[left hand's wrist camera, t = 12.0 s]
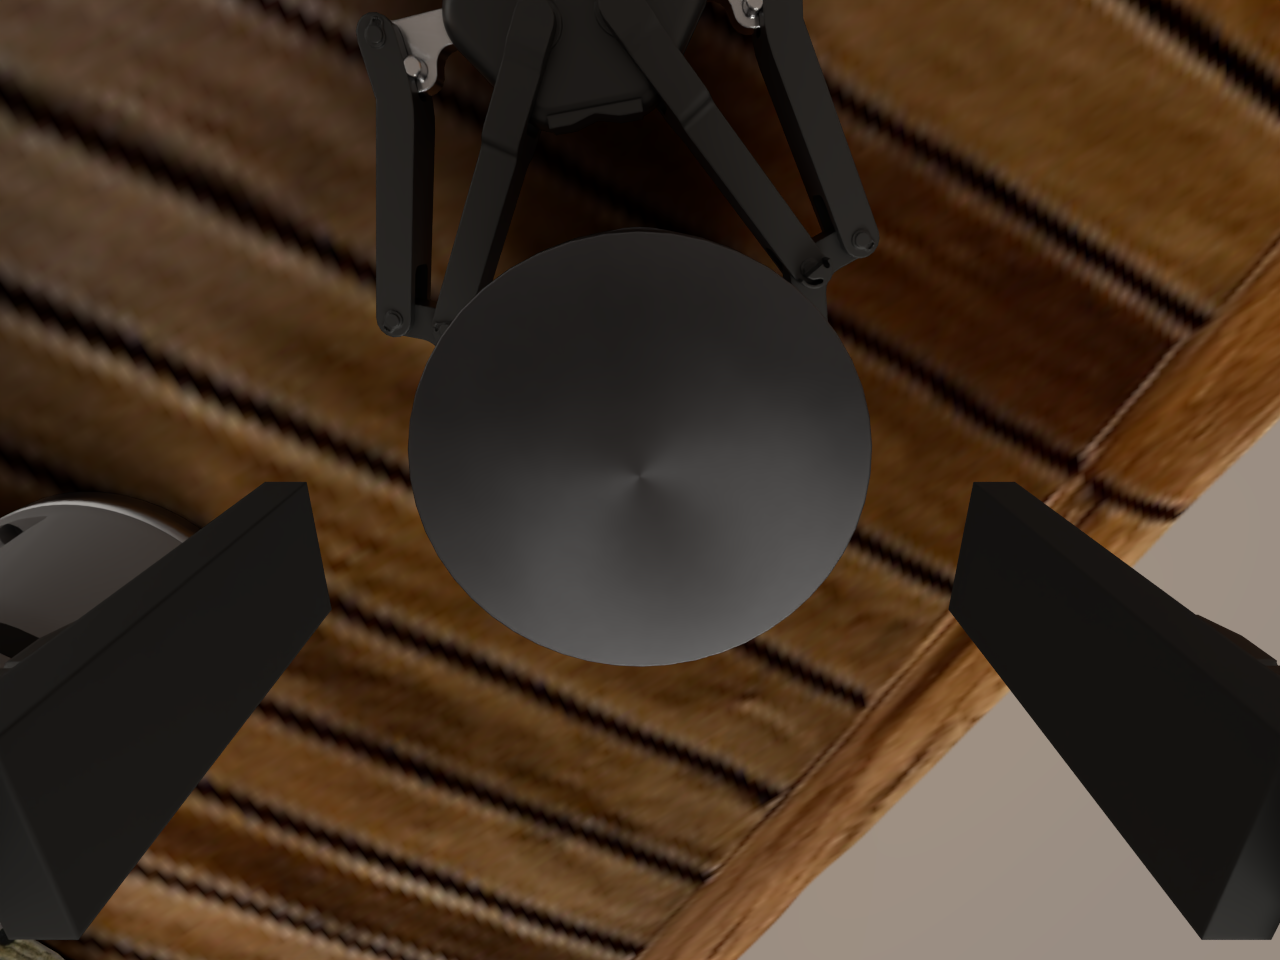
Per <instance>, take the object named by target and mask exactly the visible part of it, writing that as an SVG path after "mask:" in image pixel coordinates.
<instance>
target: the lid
mask: <svg viewBox="0 0 1280 960" xmlns="http://www.w3.org/2000/svg"><path fill="white" fill-rule="evenodd" d="M871 453H872V441H871V429H870V417H869V413H868V408H867V404H866V400H865V395H864V391H863V387H862V385H861V382H860V380H859V377H858V374H857V372H856V369H855V367H854V364H853V362H852V359H851V358H850V356H849V354H848V352H847V351H846V349H845V347H844V345H843V343H842V342H841V340H840V338H839V336H838V335H837V333H836V332H835V330H834V329H833V328H832V327H831V325H830V324H829V323H828V321H827V320H826V319H825V318H824V316H823V315H822V314H821V312H820V311H819V310H818V309H817V307H815V306H814V305H813V304H812V303H811V302H810V301H809V300H808V299H807V298H806V297H805V296H804V295H803V294H802V293H801V292H800V291H799V290H798V289H797V288H796V287H795V286H794V285H792V284H791V283H789V282H788V281H787V280H785V279H784V278H782V277H781V276H780V275H778V274H777V273H775V272H774V271H773V270H771V269H770V268H768V267H767V266H765V265H763V264H761V263H759V262H757V261H756V260H754V259H752V258H750V257H748V256H746V255H744V254H742V253H740V252H738V251H736V250H734V249H732V248H730V247H727V246H724V245H721V244H718V243H716V242H713V241H710V240H707V239H704V238H702V237H698V236H693V235H688V234H683V233H678V232H673V231H667V230H651V229H628V230H615V231H605V232H601V233H596V234H592V235H587V236H583V237H578V238H575V239H572V240H570V241H567V242H564V243H562V244H559V245H556V246H554V247H551V248H548V249H546V250H544V251H542V252H539V253H537V254H535V255H534V256H532V257H530V258H528V259H526V260H524V261H523V262H521V263H519V264H517V265H515V266H513V267H512V268H510V269H508V270H507V271H506V272H504V273H503V274H502V275H500V276H499V277H498V278H496V279H495V280H494V281H492V282H491V283H489V284H488V285H487V286H485V287H484V288H483V289H482V290H481V291H480V292H479V293H478V294H477V295H476V296H475V297H474V298H473V299H472V300H471V301H470V302H469V303H468V304H467V305H466V306H465V307H464V308H463V309H462V310H461V311H460V312H459V313H458V315H457V316H456V317H455V319H454V320H453V321H452V323H451V324H450V325H449V327H448V328H447V329H446V331H445V332H444V333H443V335H442V336H441V338H440V339H439V341H438V343H437V345H436V347H435V349H434V350H433V352H432V354H431V356H430V358H429V360H428V361H427V363H426V366H425V369H424V371H423V374H422V377H421V380H420V382H419V385H418V388H417V390H416V394H415V399H414V404H413V408H412V413H411V418H410V427H409V441H408V456H409V470H410V480H411V484H412V489H413V494H414V498H415V503H416V507H417V509H418V512H419V515H420V518H421V521H422V523H423V526H424V529H425V532H426V534H427V536H428V537H429V539H430V541H431V543H432V545H433V547H434V549H435V551H436V553H437V555H438V557H439V558H440V559H441V561H442V562H443V564H444V565H445V567H446V568H447V570H448V571H449V572H450V574H451V575H452V577H453V578H454V579H455V581H456V582H457V583H458V584H459V585H460V586H461V587H462V588H463V589H464V591H465V592H466V593H467V594H468V595H469V596H470V597H471V598H472V599H473V600H474V601H475V602H476V603H477V604H478V605H480V606H481V607H482V608H483V609H484V610H485V611H486V612H487V613H489V614H490V615H491V616H492V617H494V618H495V619H496V620H498V621H499V622H501V623H502V624H504V625H505V626H507V627H508V628H510V629H511V630H512V631H514V632H516V633H518V634H519V635H521V636H523V637H525V638H527V639H529V640H531V641H533V642H535V643H536V644H539V645H541V646H544V647H546V648H549V649H551V650H554V651H556V652H559V653H561V654H564V655H568V656H572V657H575V658H579V659H583V660H587V661H591V662H598V663H604V664H611V665H622V666H657V665H670V664H676V663H682V662H688V661H694V660H698V659H701V658H705V657H708V656H711V655H715V654H718V653H721V652H724V651H726V650H729V649H731V648H734V647H736V646H739V645H741V644H743V643H746V642H748V641H749V640H751V639H753V638H755V637H757V636H758V635H760V634H762V633H764V632H766V631H768V630H769V629H771V628H772V627H773V626H775V625H776V624H778V623H779V622H780V621H782V620H783V619H785V618H786V617H788V616H789V615H790V614H792V613H793V612H794V611H795V610H796V609H797V608H798V607H799V606H800V605H801V604H803V603H804V602H805V601H806V600H807V599H808V598H809V597H810V596H811V595H812V594H813V593H814V592H815V591H816V589H817V588H818V587H819V586H820V585H821V584H822V583H823V581H824V580H825V579H826V578H827V577H828V576H829V574H830V573H831V571H832V570H833V568H834V567H835V565H836V564H837V562H838V561H839V559H840V558H841V556H842V555H843V553H844V551H845V549H846V547H847V545H848V543H849V541H850V539H851V537H852V535H853V533H854V531H855V529H856V526H857V523H858V521H859V518H860V515H861V512H862V509H863V506H864V503H865V499H866V494H867V489H868V484H869V478H870V471H871Z"/></svg>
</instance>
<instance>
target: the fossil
mask: <svg viewBox="0 0 1280 960" xmlns="http://www.w3.org/2000/svg"><path fill="white" fill-rule="evenodd" d="M0 960H64V959H63V958H62V957H61V956H60V955H59V954H58V953H56V952H54V951H53V950H51V949H49V948H48V947H46V946H44V945H43V944H41V943H39V942H38V941H36V940H9V939H8V937H7V935H6V933H5V931H4V929H3V928H2V929H1V930H0Z"/></svg>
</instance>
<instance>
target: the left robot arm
mask: <svg viewBox="0 0 1280 960" xmlns="http://www.w3.org/2000/svg"><path fill="white" fill-rule="evenodd" d="M330 611H331V605H330V600H329V594H328V589H327V584H326V579H325V574H324V569H323V564H322V559H321V554H320V549H319V544H318V538H317V533H316V528H315V523H314V518H313V513H312V508H311V503H310V498H309V493H308V487H307V482H265V483H263V484H262V485H260V486H259V487H258V488H256V489H255V490H254V491H252V492H251V493H250V494H248V495H247V496H245V497H244V498H243V499H241V500H240V501H239V502H237V503H236V504H235V505H233V506H232V507H230V508H229V509H228V510H226V511H225V512H224V513H222V514H221V515H220V516H218V517H217V518H215V519H214V520H213V521H211V522H210V523H209V524H207V525H206V526H205V527H203V528H202V529H200V528H198V527H197V526H195V525H194V524H192V523H190V522H189V521H187V520H186V519H184V518H182V517H180V516H178V515H176V514H175V513H173V512H171V511H168V510H166V509H164V508H162V507H159V506H157V505H154V504H151V503H149V502H146V501H143V500H140V499H136V498H132V497H128V496H124V495H118V494H113V493H104V492H70V493H63V494H58V495H53V496H50V497H46V498H43V499H40V500H38V501H35V502H33V503H30V504H28V505H26V506H24V507H22V508H20V509H18V510H16V511H14V512H12V513H10V514H8V515H6V516H4V517H2V518H0V930H1V929H2V928H3V929H4V931H5V933H6V935H7V937H8V939H9V940H78V939H79V938H80V937H81V936H82V934H83V933H84V932H85V930H86V929H87V928H88V926H89V925H90V924H91V922H92V921H93V920H94V919H95V917H96V916H97V915H98V913H99V912H100V911H101V909H102V908H103V907H104V906H105V904H106V903H107V902H108V900H109V899H110V898H111V896H112V895H113V894H114V892H115V891H116V890H117V889H118V887H119V886H120V885H121V883H122V882H123V881H124V879H125V878H126V877H127V876H128V874H129V873H130V872H131V870H132V869H133V868H134V866H135V865H136V864H137V862H138V861H139V860H140V859H141V857H142V856H143V855H144V853H145V852H146V851H147V849H148V848H149V847H150V846H151V844H152V843H153V842H154V840H155V839H156V838H157V836H158V835H159V834H160V832H161V831H162V830H163V829H164V827H165V826H166V825H167V823H168V822H169V821H170V819H171V818H172V817H173V816H174V814H175V813H176V812H177V810H178V809H179V808H180V806H181V805H182V804H183V802H184V801H185V800H186V799H187V797H188V796H189V795H190V793H191V792H192V791H193V789H194V788H195V787H196V786H197V784H198V783H199V782H200V780H201V779H202V778H203V776H204V775H205V774H206V772H207V771H208V770H209V769H210V767H211V766H212V765H213V763H214V762H215V761H216V759H217V758H218V757H219V756H220V754H221V753H222V752H223V750H224V749H225V748H226V746H227V745H228V744H229V742H230V741H231V740H232V739H233V737H234V736H235V735H236V733H237V732H238V731H239V729H240V728H241V727H242V726H243V724H244V723H245V722H246V720H247V719H248V718H249V716H250V715H251V714H252V712H253V711H254V710H255V709H256V707H257V706H258V705H259V703H260V702H261V701H262V699H263V698H264V697H265V696H266V694H267V693H268V692H269V690H270V689H271V688H272V686H273V685H274V684H275V682H276V681H277V680H278V679H279V677H280V676H281V675H282V673H283V672H284V671H285V669H286V668H287V667H288V665H289V664H290V663H291V662H292V660H293V659H294V658H295V656H296V655H297V654H298V652H299V651H300V650H301V649H302V647H303V646H304V645H305V643H306V642H307V641H308V639H309V638H310V637H311V635H312V634H313V633H314V632H315V630H316V629H317V628H318V626H319V625H320V624H321V622H322V621H323V620H324V619H325V617H326V616H327V615H328V613H329V612H330ZM949 611H950V612H951V613H952V615H953V616H954V617H955V619H956V620H957V621H958V622H959V624H960V625H961V626H962V628H963V629H964V630H965V632H966V633H967V634H968V635H969V637H970V638H971V639H972V641H973V642H974V643H975V645H976V646H977V647H978V649H979V650H980V651H981V652H982V654H983V655H984V656H985V658H986V659H987V660H988V662H989V663H990V664H991V665H992V667H993V668H994V669H995V671H996V672H997V673H998V675H999V676H1000V677H1001V679H1002V680H1003V681H1004V682H1005V684H1006V685H1007V686H1008V688H1009V689H1010V690H1011V692H1012V693H1013V694H1014V696H1015V697H1016V698H1017V699H1018V701H1019V702H1020V703H1021V705H1022V706H1023V707H1024V708H1025V710H1026V711H1027V712H1028V714H1029V715H1030V716H1031V718H1032V719H1033V720H1034V722H1035V723H1036V724H1037V725H1038V727H1039V728H1040V729H1041V731H1042V732H1043V733H1044V735H1045V736H1046V737H1047V739H1048V740H1049V741H1050V742H1051V744H1052V745H1053V746H1054V748H1055V749H1056V750H1057V752H1058V753H1059V754H1060V756H1061V757H1062V758H1063V759H1064V761H1065V762H1066V763H1067V765H1068V766H1069V767H1070V769H1071V770H1072V771H1073V772H1074V774H1075V775H1076V776H1077V778H1078V779H1079V780H1080V782H1081V783H1082V784H1083V785H1084V787H1085V788H1086V789H1087V791H1088V792H1089V793H1090V795H1091V796H1092V797H1093V799H1094V800H1095V801H1096V802H1097V804H1098V805H1099V806H1100V808H1101V809H1102V810H1103V812H1104V813H1105V814H1106V816H1107V817H1108V818H1109V819H1110V821H1111V822H1112V823H1113V825H1114V826H1115V827H1116V829H1117V830H1118V831H1119V832H1120V834H1121V835H1122V836H1123V838H1124V839H1125V840H1126V842H1127V843H1128V844H1129V845H1130V847H1131V848H1132V849H1133V851H1134V852H1135V853H1136V855H1137V856H1138V857H1139V859H1140V860H1141V861H1142V862H1143V864H1144V865H1145V866H1146V868H1147V869H1148V870H1149V872H1150V873H1151V874H1152V876H1153V877H1154V878H1155V879H1156V881H1157V882H1158V883H1159V885H1160V886H1161V887H1162V889H1163V890H1164V891H1165V892H1166V894H1167V895H1168V896H1169V898H1170V899H1171V900H1172V902H1173V903H1174V904H1175V906H1176V907H1177V908H1178V909H1179V911H1180V912H1181V913H1182V915H1183V916H1184V917H1185V918H1186V920H1187V921H1188V922H1189V924H1190V925H1191V926H1192V928H1193V929H1194V930H1195V932H1196V933H1197V934H1198V936H1199V937H1200V938H1201V939H1202V940H1271V939H1272V937H1273V935H1274V933H1275V931H1276V929H1277V927H1278V925H1279V923H1280V666H1278V665H1277V660H1275V659H1274V658H1272V657H1271V656H1270V655H1268V654H1267V653H1265V652H1264V651H1262V650H1261V649H1260V648H1258V647H1257V646H1256V645H1254V644H1253V643H1251V642H1250V641H1249V640H1247V639H1246V638H1244V637H1243V636H1241V635H1239V634H1237V633H1235V632H1233V631H1231V630H1229V629H1227V628H1225V627H1222V626H1220V625H1218V624H1216V623H1214V622H1212V621H1210V620H1208V619H1206V618H1204V617H1202V616H1199V615H1195V614H1194V613H1193V612H1191V611H1190V610H1189V609H1187V608H1186V607H1184V606H1183V605H1182V604H1180V603H1179V602H1178V601H1176V600H1175V599H1174V598H1172V597H1171V596H1169V595H1168V594H1167V593H1165V592H1164V591H1163V590H1161V589H1160V588H1159V587H1157V586H1156V585H1154V584H1153V583H1152V582H1150V581H1149V580H1148V579H1146V578H1145V577H1144V576H1142V575H1141V574H1139V573H1138V572H1137V571H1135V570H1134V569H1133V568H1131V567H1130V566H1129V565H1127V564H1126V563H1124V562H1123V561H1122V560H1120V559H1119V558H1118V557H1116V556H1115V555H1114V554H1112V553H1111V552H1110V551H1108V550H1107V549H1105V548H1104V547H1103V546H1101V545H1100V544H1099V543H1097V542H1096V541H1095V540H1093V539H1092V538H1090V537H1089V536H1088V535H1086V534H1085V533H1084V532H1082V531H1081V530H1080V529H1078V528H1077V527H1075V526H1074V525H1073V524H1071V523H1070V522H1069V521H1067V520H1066V519H1065V518H1063V517H1062V516H1060V515H1059V514H1058V513H1056V512H1055V511H1054V510H1052V509H1051V508H1050V507H1048V506H1047V505H1045V504H1044V503H1043V502H1041V501H1040V500H1039V499H1037V498H1036V497H1035V496H1033V495H1032V494H1030V493H1029V492H1028V491H1026V490H1025V489H1024V488H1022V487H1021V486H1020V485H1018V484H1017V483H1015V482H973V487H972V493H971V498H970V503H969V508H968V513H967V518H966V523H965V528H964V533H963V538H962V544H961V549H960V554H959V559H958V564H957V569H956V574H955V579H954V584H953V589H952V594H951V600H950V605H949Z"/></svg>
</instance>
